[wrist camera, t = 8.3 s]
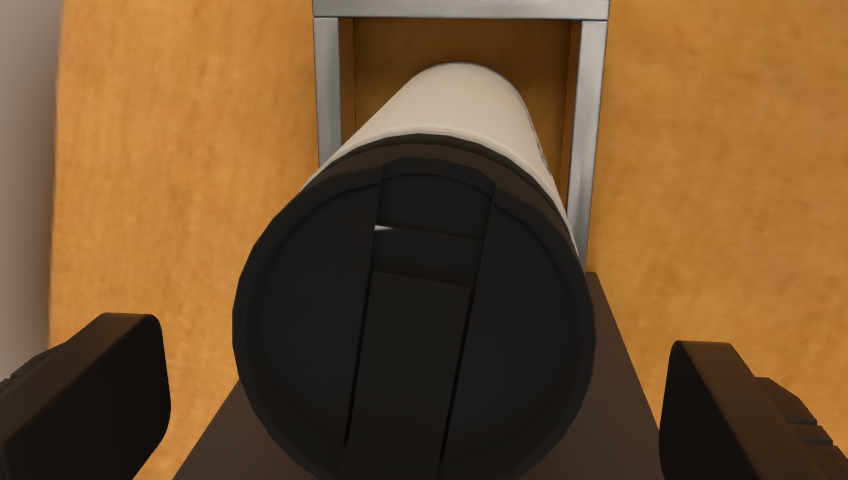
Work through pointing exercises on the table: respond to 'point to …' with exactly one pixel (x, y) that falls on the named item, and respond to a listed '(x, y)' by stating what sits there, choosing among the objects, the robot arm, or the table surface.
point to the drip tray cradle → (579, 3)
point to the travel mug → (421, 296)
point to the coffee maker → (554, 476)
